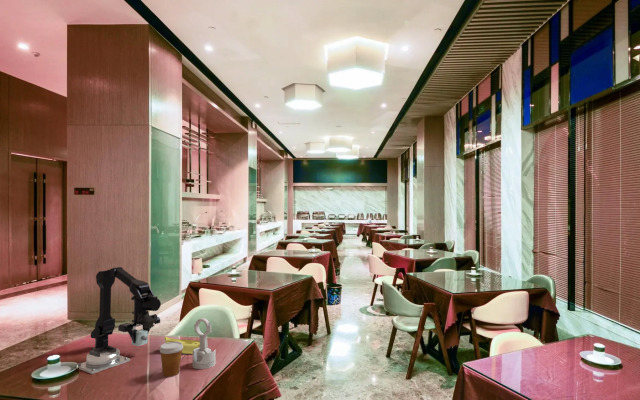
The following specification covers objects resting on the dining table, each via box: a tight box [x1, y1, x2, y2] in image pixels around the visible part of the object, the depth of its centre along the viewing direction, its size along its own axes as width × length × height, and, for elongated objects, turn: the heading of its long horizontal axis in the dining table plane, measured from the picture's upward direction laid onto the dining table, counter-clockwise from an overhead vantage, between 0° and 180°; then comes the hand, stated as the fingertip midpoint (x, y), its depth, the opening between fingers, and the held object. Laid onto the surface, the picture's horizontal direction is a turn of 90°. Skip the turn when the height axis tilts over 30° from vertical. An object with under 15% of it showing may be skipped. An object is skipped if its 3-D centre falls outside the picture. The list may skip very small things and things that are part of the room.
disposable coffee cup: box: [158, 342, 183, 377], centre depth 156 cm, size 10×10×12 cm
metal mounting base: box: [77, 344, 131, 375], centre depth 167 cm, size 14×17×6 cm
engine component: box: [191, 317, 217, 370], centre depth 166 cm, size 11×20×10 cm
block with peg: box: [131, 328, 149, 347], centre depth 177 cm, size 7×5×6 cm
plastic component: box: [164, 336, 200, 355], centre depth 184 cm, size 20×7×10 cm
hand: (139, 341), depth 178 cm, fingers closed on block with peg, 5 cm apart
